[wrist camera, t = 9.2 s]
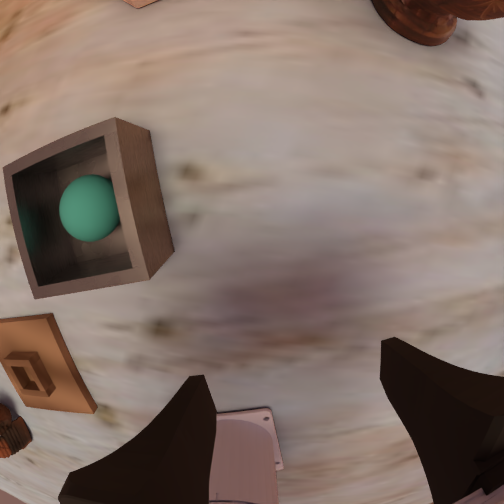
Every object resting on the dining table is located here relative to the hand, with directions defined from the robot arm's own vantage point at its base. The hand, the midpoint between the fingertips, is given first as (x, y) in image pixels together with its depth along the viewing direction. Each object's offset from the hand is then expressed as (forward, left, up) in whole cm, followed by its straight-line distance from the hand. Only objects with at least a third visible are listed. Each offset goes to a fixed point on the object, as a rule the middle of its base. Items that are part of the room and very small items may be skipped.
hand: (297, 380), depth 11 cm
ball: (+8, +10, -7) cm, 15 cm away
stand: (-4, +23, -9) cm, 25 cm away
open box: (+8, +10, -9) cm, 16 cm away
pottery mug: (-12, +36, -10) cm, 39 cm away
